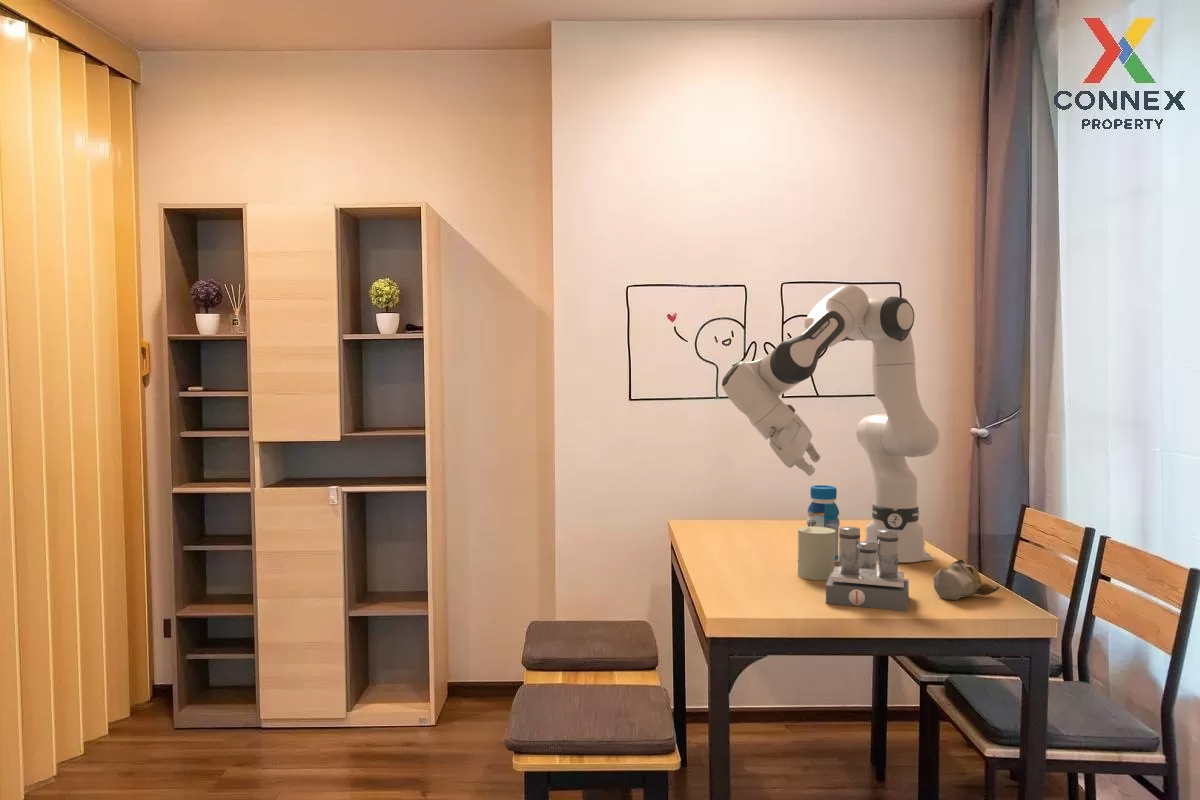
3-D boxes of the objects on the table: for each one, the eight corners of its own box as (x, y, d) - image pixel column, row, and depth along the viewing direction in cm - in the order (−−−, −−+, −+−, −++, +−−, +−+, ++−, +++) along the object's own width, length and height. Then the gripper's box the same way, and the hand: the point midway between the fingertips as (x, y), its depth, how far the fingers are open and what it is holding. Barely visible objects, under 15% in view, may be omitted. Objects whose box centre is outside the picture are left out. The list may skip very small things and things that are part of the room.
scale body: (830, 589, 192) (830, 572, 192) (908, 596, 186) (908, 579, 186) (825, 603, 180) (825, 585, 180) (908, 611, 174) (908, 593, 174)
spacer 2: (857, 581, 199) (858, 540, 199) (876, 584, 197) (878, 542, 197) (854, 585, 195) (856, 543, 194) (874, 588, 193) (876, 545, 193)
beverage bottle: (840, 565, 216) (841, 489, 215) (807, 563, 217) (808, 488, 217) (837, 558, 224) (838, 484, 223) (805, 556, 226) (806, 484, 225)
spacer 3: (876, 572, 185) (877, 528, 184) (898, 574, 183) (898, 529, 183) (875, 577, 180) (876, 532, 180) (897, 579, 179) (898, 533, 178)
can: (789, 573, 207) (790, 525, 207) (820, 570, 211) (821, 523, 210) (811, 582, 199) (812, 532, 198) (843, 578, 202) (843, 530, 202)
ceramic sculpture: (921, 557, 187) (961, 553, 195) (918, 594, 187) (959, 589, 195) (963, 567, 178) (1004, 562, 186) (960, 607, 178) (1001, 600, 186)
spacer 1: (839, 569, 187) (839, 526, 187) (860, 571, 186) (860, 527, 186) (838, 574, 183) (838, 529, 183) (859, 575, 182) (859, 531, 181)
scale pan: (834, 570, 190) (834, 566, 190) (903, 576, 185) (904, 571, 185) (831, 581, 181) (831, 576, 181) (903, 587, 176) (903, 582, 176)
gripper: (777, 426, 181) (820, 473, 181) (792, 402, 200) (831, 445, 199) (756, 443, 184) (798, 490, 183) (773, 418, 203) (811, 460, 202)
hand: (815, 466), depth 191 cm, fingers open, 8 cm apart
